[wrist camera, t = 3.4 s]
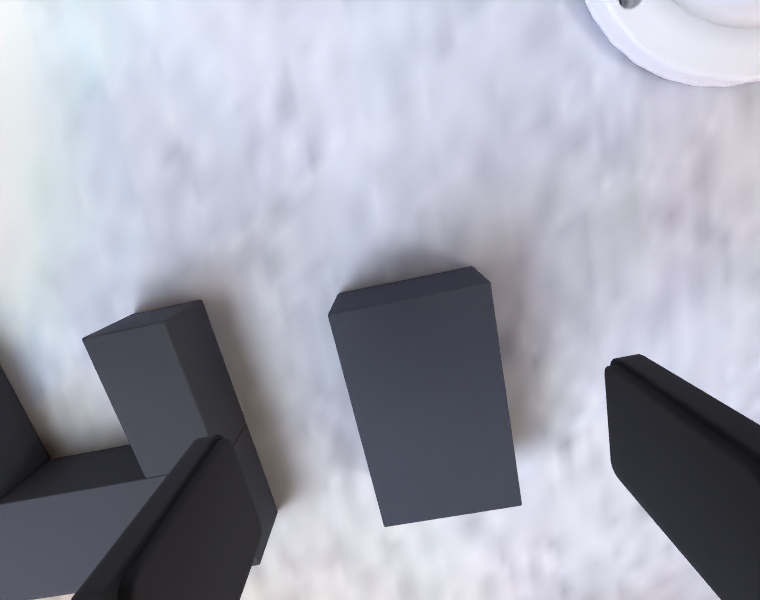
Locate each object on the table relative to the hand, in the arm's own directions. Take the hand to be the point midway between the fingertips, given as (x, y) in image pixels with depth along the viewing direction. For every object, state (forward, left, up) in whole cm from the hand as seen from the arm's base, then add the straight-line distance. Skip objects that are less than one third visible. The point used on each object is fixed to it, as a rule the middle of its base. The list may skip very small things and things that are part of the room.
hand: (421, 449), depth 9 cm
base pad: (+3, -16, -8) cm, 18 cm away
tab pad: (+3, 0, -8) cm, 9 cm away
